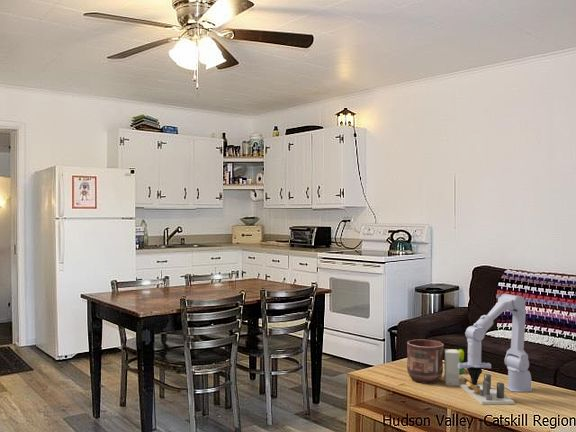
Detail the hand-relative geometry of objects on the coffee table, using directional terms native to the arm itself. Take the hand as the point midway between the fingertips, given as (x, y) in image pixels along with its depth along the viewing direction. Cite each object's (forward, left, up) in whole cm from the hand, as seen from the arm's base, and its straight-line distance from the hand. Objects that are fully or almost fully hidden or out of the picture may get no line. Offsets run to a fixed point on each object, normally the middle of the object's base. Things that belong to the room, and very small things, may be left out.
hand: (474, 384), depth 240 cm
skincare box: (+4, -18, -5) cm, 19 cm away
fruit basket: (-6, -39, -5) cm, 40 cm away
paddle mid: (-2, 0, -3) cm, 4 cm away
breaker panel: (-5, 0, -5) cm, 7 cm away
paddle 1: (-2, -7, -3) cm, 8 cm away
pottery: (+15, -24, -5) cm, 29 cm away
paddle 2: (-2, +7, -3) cm, 8 cm away
